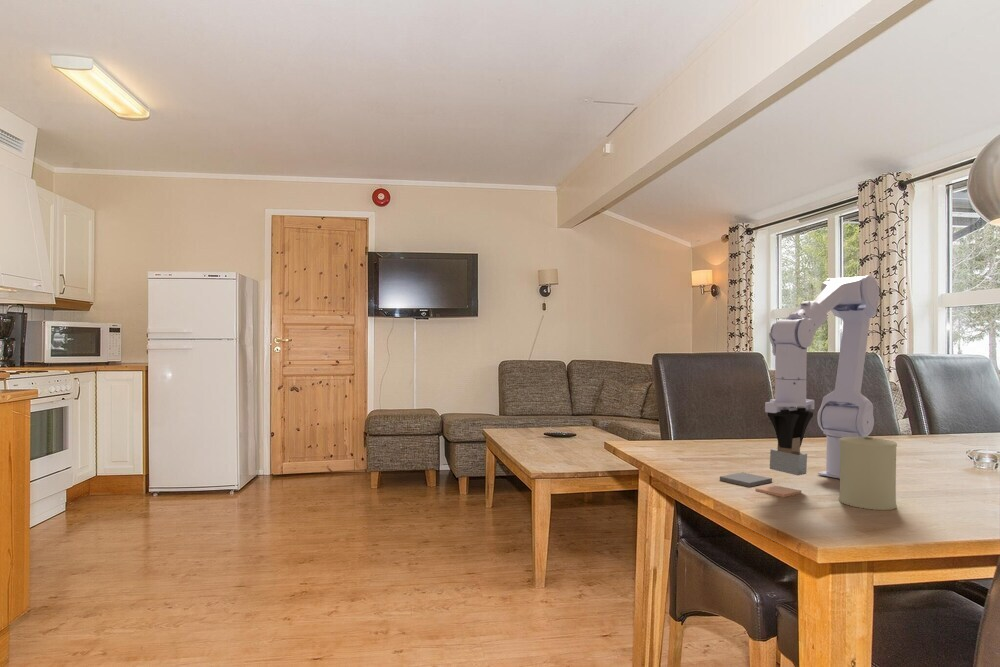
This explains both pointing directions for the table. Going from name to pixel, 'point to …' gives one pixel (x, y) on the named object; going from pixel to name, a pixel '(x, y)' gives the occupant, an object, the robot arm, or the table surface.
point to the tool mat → (745, 479)
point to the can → (868, 473)
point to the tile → (778, 490)
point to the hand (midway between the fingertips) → (790, 447)
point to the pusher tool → (789, 459)
